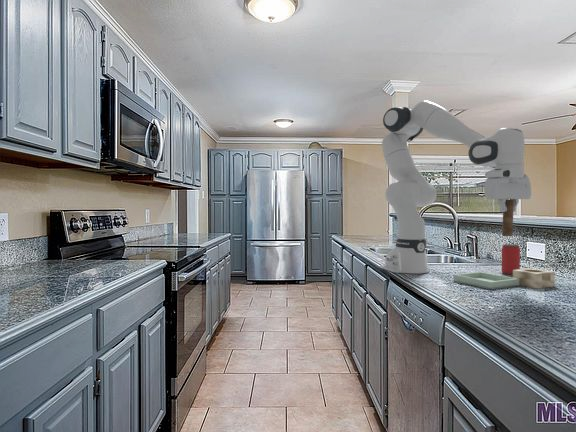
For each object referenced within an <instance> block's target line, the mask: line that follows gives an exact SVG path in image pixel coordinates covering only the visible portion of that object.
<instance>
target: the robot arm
mask: <svg viewBox="0 0 576 432" xmlns="http://www.w3.org/2000/svg"><path fill="white" fill-rule="evenodd" d="M382 124H383V126H384V127H385V129H387V131H389V133H388V134H386V135H385V136H384V137H383V139H382V140H381V144H382V145H381V146H382V147H381V148H382V152H383V157H384V160H385V163H386V166H387V169H388V171H389V174H390V175H391V177H392V178H393V179H395V180H396V182H393V183H390V184H389V185H388V186H387V188H386V190H385V200H386V201H387V203H388V204H389V205H390V206H391V207H392V209H393V211H394V213H395V215H396V220H397V230H398V232H397V236H398V237H397V239H394V243H396V244H395V246H394V247H393V249H391V251H389V252H388V253H387V254H386V255H385V260H384V261H385V262H384V264H381V265H379V268H380V269H383V270H385V271H389V272H392V273H396V274H397V273H400V274H427V273H429V272H430V267H429V265H428V257H427V251H426V248H427V239H426V223H425V221H426V220H424V218H423V217H421V215H420V214H419V211H418V208H423V207H427V206H430V205H432V204H433V203H434V202H436V199H437V195H438V192H437V189H436V187H435V186H434V185H433V184H432V183H429V181H427V179H426V178H425V177H424V176H423V174H422V173H421V172H420V170H419V169H418V167H417V166H416V163H415V161H414V159H413V156H412V154H411V151H410V148H409V147H408V143H409V142H412V141H414V139H416V138H417V137H418V136H420V134H422V132H423V131H426V132H427V133H429V134H430V135H432V136H434V137H437V138H439V139H443V140H448V141H453V142H456V143H457V142H458V143H461V144H462V145H465V146H466V147H468V148H469V149H468V159H469V161H471V163H473V164H474V165H477V166H481V167H482V166H483V167H490V168H492V169H490V170H488V171H486V172H485V173H484V177H485V178H486V179H485V182H484V190H483V191H484V198H486V199H487V200H497V204H498V206H499V211H500V212H501V213H503V212H507V207H506V206H505V202H506V200H514V207H513V213H516V211H517V206H518V204H519V201H520V200H530V199H531V197H532V187H531V180H530V178H529V177H528V175H527V174H526V173H524V171H525V163H524V154H525V136H524V132H523V130H521V129H518V128H513V127H502V128H499V129H497V131H496V132H494V133H493V134H491V135H489V136H487V137H486V136H484V135H482V134H480V133H478V132H477V131H475V130H474V129H472V128H470V127H469V126H468V125H466V124H465V123H464V122H462V121H461V120H460V119H459V118H458V117H457V116H455V115H454V114H453V113H452V112H450V111H449V110H448V109H446V108H444V107H443V106H440V105H439V104H437V103H434V102H432V101H429V100H421V101H419V102H418V103H416V105H414V107H413V108H411V109H410V108H409V107H408V106H401V107H400V106H397V107H396V106H395V107H391V108H389V109H388V110H387V111H386V112H385V113H384V114H383V119H382Z"/></svg>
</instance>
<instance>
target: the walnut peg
mask: <svg viewBox="0 0 576 432" xmlns="http://www.w3.org/2000/svg"><path fill="white" fill-rule="evenodd" d="M505 206H506V207H507V212H502V232H501V233H502V235H501V236H502V237H513V236H514V235H513V234H514V233H513V230H514V229H513V228H514V212H513V207H514V200H511V199H506V202H505Z"/></svg>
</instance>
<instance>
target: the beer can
mask: <svg viewBox="0 0 576 432" xmlns="http://www.w3.org/2000/svg"><path fill="white" fill-rule="evenodd" d="M517 269H521V250H520V247H519V245H518V244H512V243H511V244H510V243H507V244H506V243H504V244H503V245H502V247H501V273H503V274H505V275H509V276H510V275H512V276H513V270H517Z"/></svg>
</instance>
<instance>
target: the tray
mask: <svg viewBox="0 0 576 432" xmlns="http://www.w3.org/2000/svg"><path fill="white" fill-rule="evenodd" d="M453 282H455V283H460V284H465V285H469V286H472V287H478V288H483V289H486V290H491V289H492V290H498V289H504V288H505V289H507V288H512V287H513V288H514V287H519V286H520V285H519V279H517V278H513V276H511V277H510V276H507V275H500V274H493V273H488V272H484V271H483V272H482V271H476V272H466V273H457V274H456V273H455V274H453Z"/></svg>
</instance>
